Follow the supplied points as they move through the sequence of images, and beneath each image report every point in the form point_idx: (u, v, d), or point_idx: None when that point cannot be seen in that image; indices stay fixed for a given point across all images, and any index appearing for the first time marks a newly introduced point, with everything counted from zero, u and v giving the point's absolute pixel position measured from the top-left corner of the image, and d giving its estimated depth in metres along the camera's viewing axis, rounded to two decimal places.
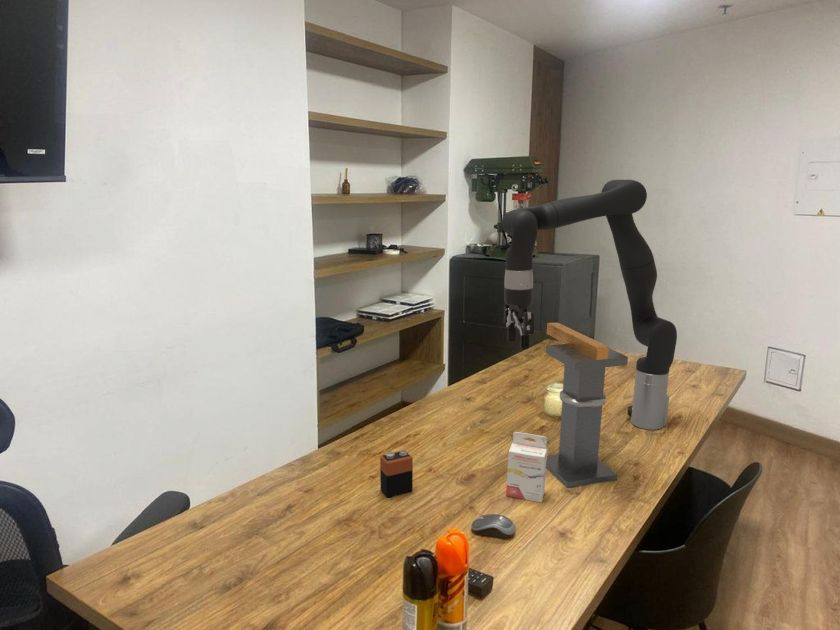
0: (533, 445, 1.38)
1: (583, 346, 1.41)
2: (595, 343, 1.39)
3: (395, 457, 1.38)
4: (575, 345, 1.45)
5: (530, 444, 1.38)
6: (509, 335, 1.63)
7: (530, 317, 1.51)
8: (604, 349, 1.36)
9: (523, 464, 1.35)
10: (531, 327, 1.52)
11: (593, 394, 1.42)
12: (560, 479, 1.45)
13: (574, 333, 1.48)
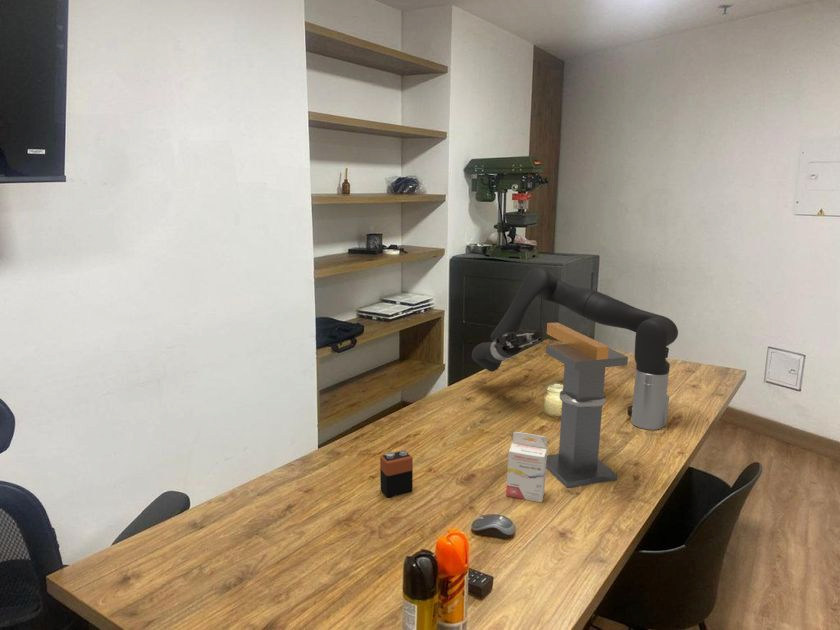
0: (533, 445, 1.38)
1: (583, 346, 1.41)
2: (595, 343, 1.39)
3: (395, 457, 1.38)
4: (575, 345, 1.45)
5: (530, 444, 1.38)
6: (537, 337, 1.75)
7: (494, 342, 1.79)
8: (604, 349, 1.36)
9: (523, 464, 1.35)
10: None
11: (593, 394, 1.42)
12: (560, 479, 1.45)
13: (574, 333, 1.48)
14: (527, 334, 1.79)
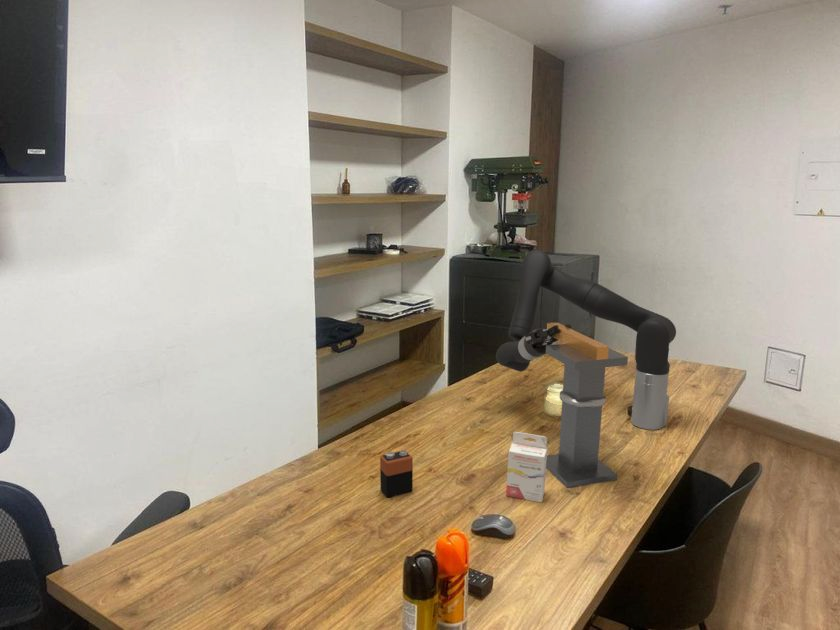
0: (533, 445, 1.38)
1: (583, 346, 1.41)
2: (595, 343, 1.39)
3: (395, 457, 1.38)
4: (575, 345, 1.45)
5: (530, 444, 1.38)
6: None
7: (528, 337, 1.59)
8: (604, 349, 1.36)
9: (523, 464, 1.35)
10: (537, 332, 1.57)
11: (593, 394, 1.42)
12: (560, 479, 1.45)
13: (574, 333, 1.47)
14: None
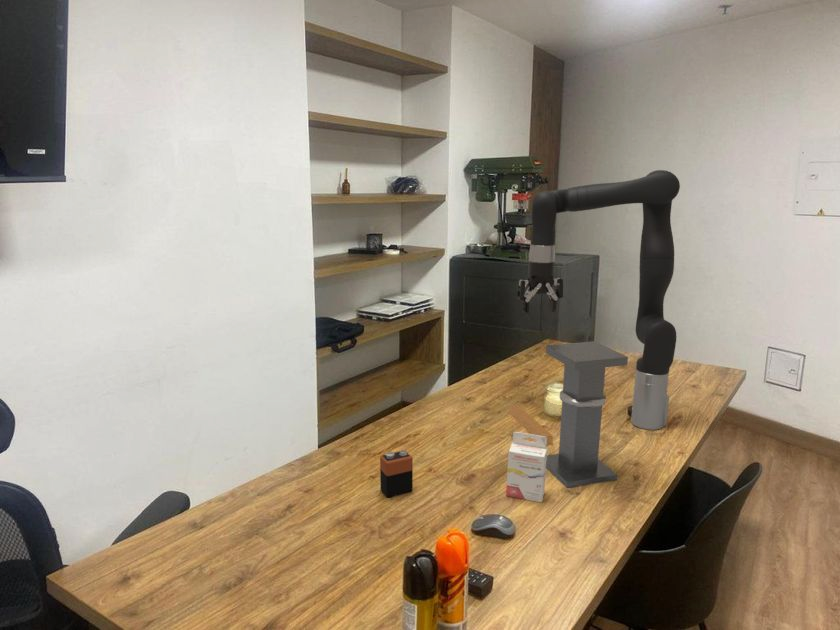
0: (533, 445, 1.38)
1: (534, 433, 1.69)
2: (542, 431, 1.67)
3: (395, 457, 1.38)
4: (528, 430, 1.73)
5: (530, 444, 1.38)
6: (549, 306, 1.79)
7: (520, 284, 1.74)
8: (549, 438, 1.64)
9: (523, 464, 1.35)
10: None
11: (593, 394, 1.42)
12: (560, 479, 1.45)
13: (528, 419, 1.76)
14: (550, 294, 1.76)
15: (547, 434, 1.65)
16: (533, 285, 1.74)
